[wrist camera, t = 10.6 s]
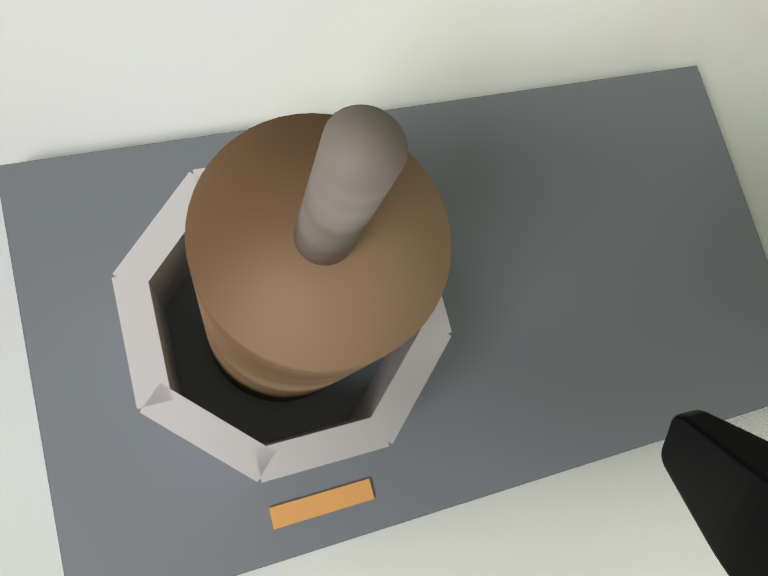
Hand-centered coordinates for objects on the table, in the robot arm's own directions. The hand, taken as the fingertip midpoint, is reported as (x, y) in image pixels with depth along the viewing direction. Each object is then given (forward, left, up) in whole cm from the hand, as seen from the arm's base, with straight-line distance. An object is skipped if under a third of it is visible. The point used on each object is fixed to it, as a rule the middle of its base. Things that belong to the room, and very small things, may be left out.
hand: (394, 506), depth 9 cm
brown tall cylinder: (+3, -3, -11) cm, 11 cm away
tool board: (-1, -7, -12) cm, 14 cm away
